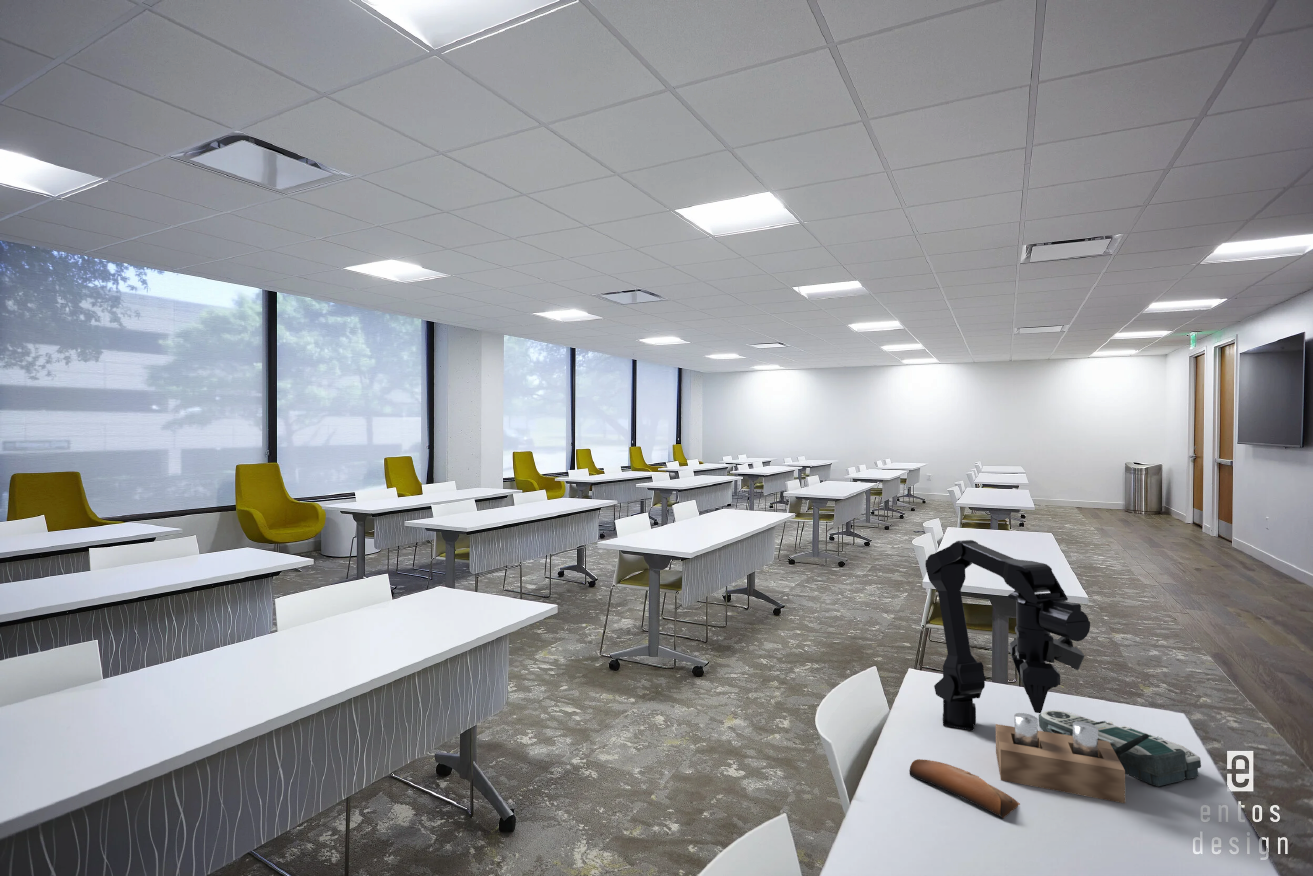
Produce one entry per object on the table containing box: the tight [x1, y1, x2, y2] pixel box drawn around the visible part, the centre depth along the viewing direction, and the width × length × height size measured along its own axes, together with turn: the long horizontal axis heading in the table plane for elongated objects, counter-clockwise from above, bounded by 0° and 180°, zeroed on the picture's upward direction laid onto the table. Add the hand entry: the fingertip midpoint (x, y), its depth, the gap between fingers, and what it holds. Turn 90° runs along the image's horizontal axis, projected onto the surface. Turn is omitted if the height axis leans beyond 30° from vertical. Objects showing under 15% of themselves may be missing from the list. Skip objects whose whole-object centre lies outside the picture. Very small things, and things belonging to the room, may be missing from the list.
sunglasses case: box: [909, 758, 1021, 819], centre depth 120 cm, size 18×7×7 cm
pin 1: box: [1014, 712, 1039, 748], centre depth 127 cm, size 4×4×6 cm
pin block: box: [995, 723, 1126, 804], centre depth 125 cm, size 20×12×6 cm, turn 66°
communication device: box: [1038, 709, 1202, 787], centre depth 135 cm, size 14×28×10 cm, turn 18°
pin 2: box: [1073, 722, 1098, 758], centre depth 123 cm, size 4×4×6 cm
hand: (1033, 703), depth 128 cm, fingers open, 9 cm apart
